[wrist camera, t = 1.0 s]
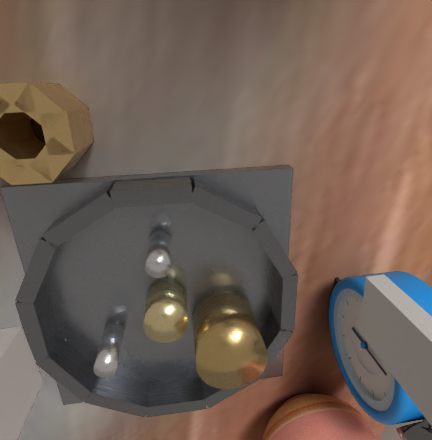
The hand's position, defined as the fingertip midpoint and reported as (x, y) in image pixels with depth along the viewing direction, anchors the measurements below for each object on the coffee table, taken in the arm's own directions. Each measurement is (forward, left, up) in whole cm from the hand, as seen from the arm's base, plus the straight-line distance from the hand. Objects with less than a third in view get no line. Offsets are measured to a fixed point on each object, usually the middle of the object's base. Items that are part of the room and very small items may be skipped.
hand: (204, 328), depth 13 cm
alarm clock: (+15, +18, -20) cm, 31 cm away
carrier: (+11, -3, -19) cm, 22 cm away
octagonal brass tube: (-6, -11, -19) cm, 23 cm away
